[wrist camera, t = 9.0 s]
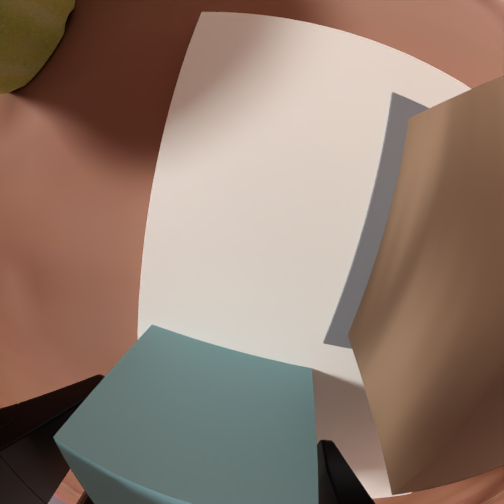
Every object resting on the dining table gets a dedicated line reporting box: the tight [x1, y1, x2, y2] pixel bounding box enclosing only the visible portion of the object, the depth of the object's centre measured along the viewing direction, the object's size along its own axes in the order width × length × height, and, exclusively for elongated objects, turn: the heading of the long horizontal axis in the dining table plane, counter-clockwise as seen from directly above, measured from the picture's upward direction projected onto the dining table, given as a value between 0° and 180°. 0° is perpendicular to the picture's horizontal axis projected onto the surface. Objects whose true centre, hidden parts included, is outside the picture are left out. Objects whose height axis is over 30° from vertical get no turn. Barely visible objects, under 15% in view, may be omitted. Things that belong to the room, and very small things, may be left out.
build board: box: [138, 12, 471, 498], centre depth 8 cm, size 19×16×1 cm
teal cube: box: [53, 324, 318, 504], centre depth 6 cm, size 5×5×5 cm
